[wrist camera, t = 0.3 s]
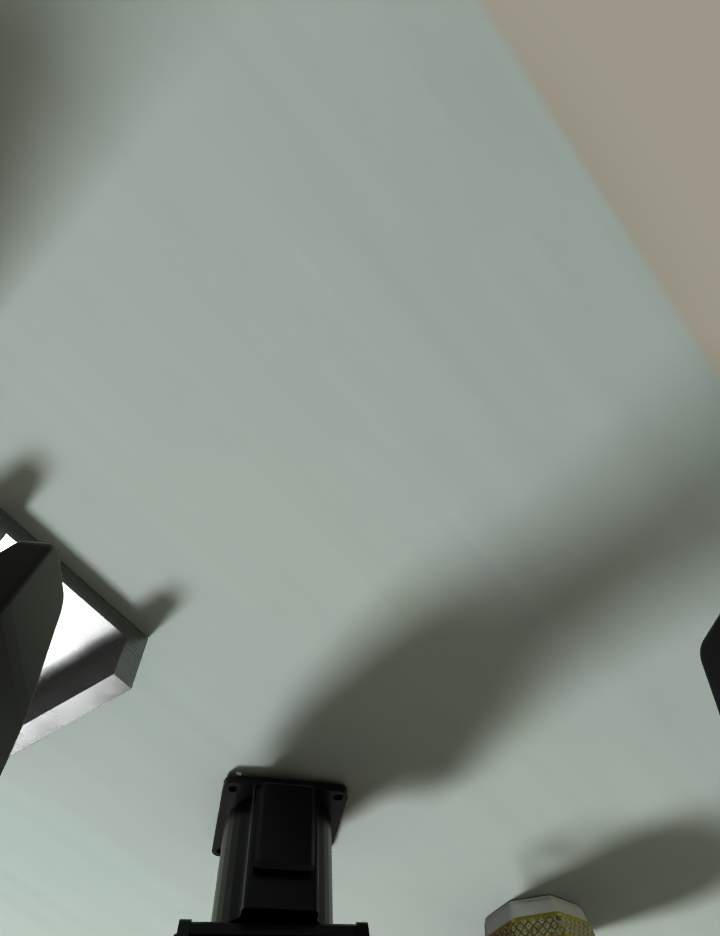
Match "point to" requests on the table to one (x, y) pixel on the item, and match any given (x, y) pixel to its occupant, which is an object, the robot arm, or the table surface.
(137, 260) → the table surface
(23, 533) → the track
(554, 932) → the ceramic cup
